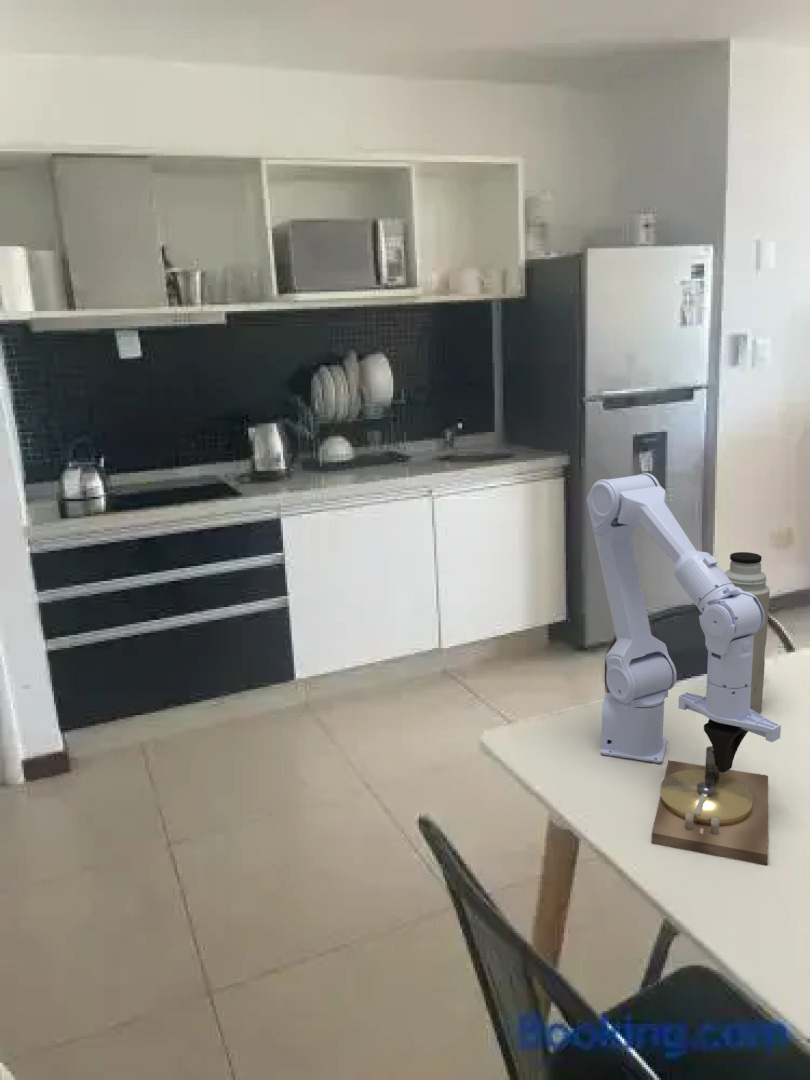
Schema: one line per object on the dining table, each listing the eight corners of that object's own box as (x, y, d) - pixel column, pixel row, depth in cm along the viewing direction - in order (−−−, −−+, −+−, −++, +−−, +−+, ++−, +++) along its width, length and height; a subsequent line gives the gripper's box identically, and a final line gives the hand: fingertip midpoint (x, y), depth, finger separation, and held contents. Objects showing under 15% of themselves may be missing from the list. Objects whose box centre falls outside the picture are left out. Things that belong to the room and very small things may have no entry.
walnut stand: (651, 842, 110) (652, 819, 109) (668, 769, 128) (668, 748, 127) (767, 865, 105) (768, 840, 104) (767, 784, 123) (769, 763, 122)
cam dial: (650, 814, 114) (651, 778, 113) (670, 771, 124) (672, 738, 123) (744, 836, 108) (747, 799, 107) (757, 789, 119) (760, 755, 117)
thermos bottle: (750, 697, 151) (760, 547, 144) (769, 717, 143) (780, 560, 136) (706, 699, 151) (713, 549, 144) (721, 719, 143) (730, 562, 136)
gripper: (795, 687, 112) (789, 779, 115) (699, 658, 123) (696, 742, 126) (766, 703, 108) (760, 797, 111) (670, 671, 119) (668, 758, 122)
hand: (724, 769), depth 118 cm, fingers closed
